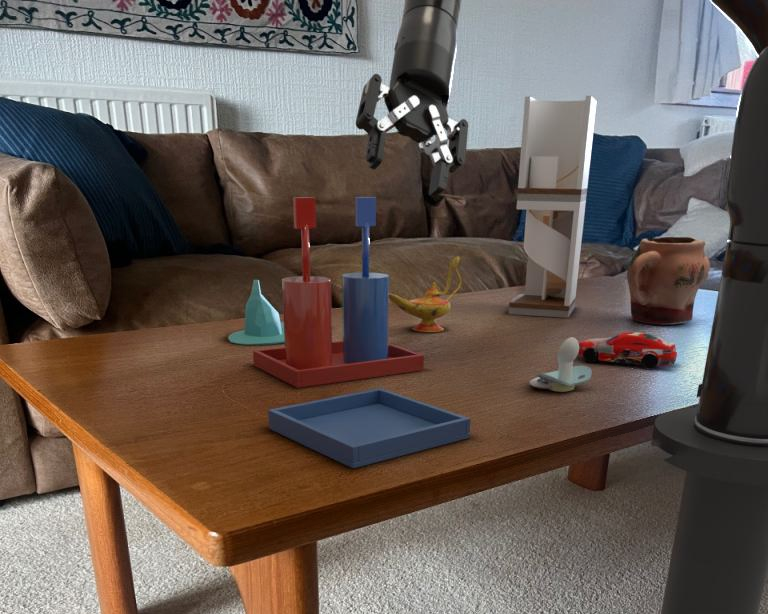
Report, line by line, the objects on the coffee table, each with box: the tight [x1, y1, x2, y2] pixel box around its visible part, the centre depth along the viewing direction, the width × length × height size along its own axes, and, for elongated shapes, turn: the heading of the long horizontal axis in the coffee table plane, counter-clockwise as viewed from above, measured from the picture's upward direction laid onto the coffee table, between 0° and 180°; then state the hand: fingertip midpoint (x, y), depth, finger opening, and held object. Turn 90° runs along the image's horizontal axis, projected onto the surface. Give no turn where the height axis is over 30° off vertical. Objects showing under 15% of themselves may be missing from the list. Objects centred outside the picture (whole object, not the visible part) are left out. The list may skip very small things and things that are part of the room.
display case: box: [508, 95, 598, 319], centre depth 138 cm, size 11×11×35 cm
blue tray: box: [267, 387, 471, 469], centre depth 77 cm, size 14×14×2 cm
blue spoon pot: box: [341, 196, 390, 364], centre depth 100 cm, size 6×6×20 cm
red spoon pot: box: [281, 196, 333, 370], centre depth 96 cm, size 6×6×20 cm
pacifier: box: [529, 336, 593, 393], centre depth 93 cm, size 7×6×6 cm
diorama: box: [227, 279, 285, 346], centre depth 121 cm, size 12×20×9 cm, turn 149°
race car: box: [577, 331, 678, 370], centre depth 106 cm, size 13×5×4 cm, turn 64°
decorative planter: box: [626, 236, 711, 325], centre depth 133 cm, size 20×12×14 cm, turn 137°
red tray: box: [252, 340, 425, 389], centre depth 102 cm, size 18×13×2 cm
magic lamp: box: [389, 256, 462, 333], centre depth 124 cm, size 7×18×11 cm, turn 132°
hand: (405, 180), depth 94 cm, fingers open, 8 cm apart
